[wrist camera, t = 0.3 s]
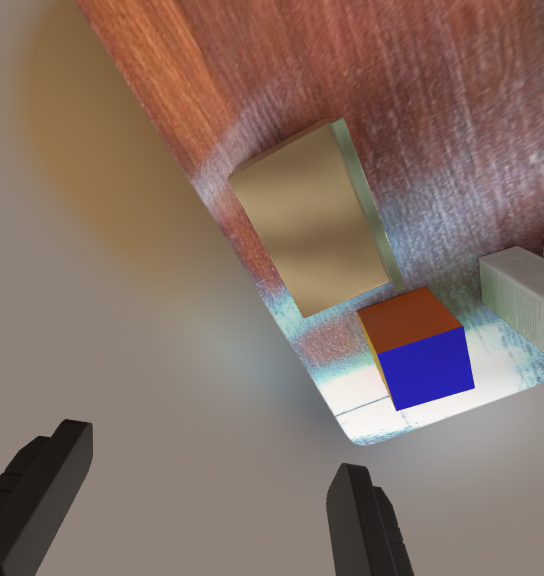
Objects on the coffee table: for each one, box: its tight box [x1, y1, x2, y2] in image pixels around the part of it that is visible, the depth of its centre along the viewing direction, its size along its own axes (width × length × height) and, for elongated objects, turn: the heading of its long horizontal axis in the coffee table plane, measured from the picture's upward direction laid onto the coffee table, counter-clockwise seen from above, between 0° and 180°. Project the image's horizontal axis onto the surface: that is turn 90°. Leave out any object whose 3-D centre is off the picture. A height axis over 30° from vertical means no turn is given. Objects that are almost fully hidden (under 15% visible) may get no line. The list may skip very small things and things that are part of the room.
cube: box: [357, 287, 475, 411], centre depth 36 cm, size 8×8×8 cm
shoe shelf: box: [227, 117, 406, 318], centre depth 29 cm, size 14×9×9 cm, turn 27°
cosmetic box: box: [479, 246, 544, 353], centre depth 31 cm, size 6×4×12 cm
